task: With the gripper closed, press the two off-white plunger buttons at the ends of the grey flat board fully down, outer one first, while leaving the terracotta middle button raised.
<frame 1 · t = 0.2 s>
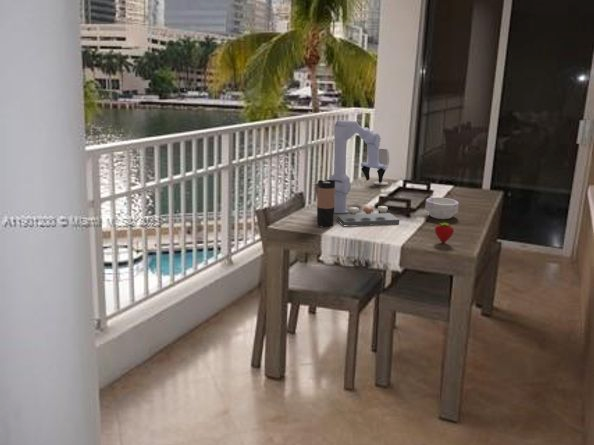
hand: (374, 181, 305), 10 cm above the table, tool pointing down, fingers open, 7 cm apart
middle button: (368, 210, 266), point 5 cm above the table, slide at 0.0 cm
paper bowls: (440, 217, 279), on the table
wineglass: (380, 184, 350), on the table
outer button: (382, 209, 268), point 5 cm above the table, slide at 0.0 cm
grey flat board: (367, 221, 268), on the table
inner button: (353, 211, 265), point 5 cm above the table, slide at 0.0 cm
travel mug: (325, 225, 260), on the table
strawberry: (443, 243, 238), on the table
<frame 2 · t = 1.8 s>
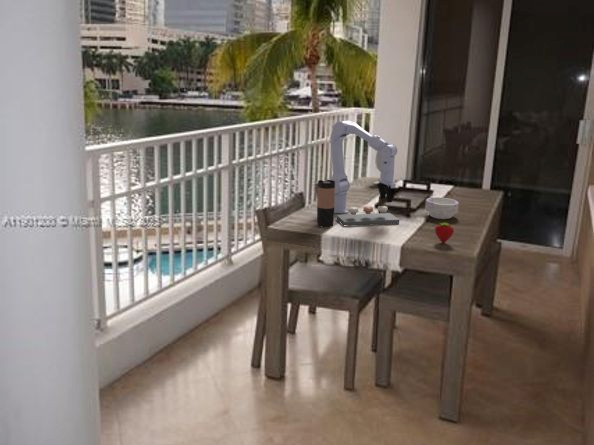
hand: (386, 200, 268), 9 cm above the table, tool pointing down, fingers open, 7 cm apart
nothing on the table moved.
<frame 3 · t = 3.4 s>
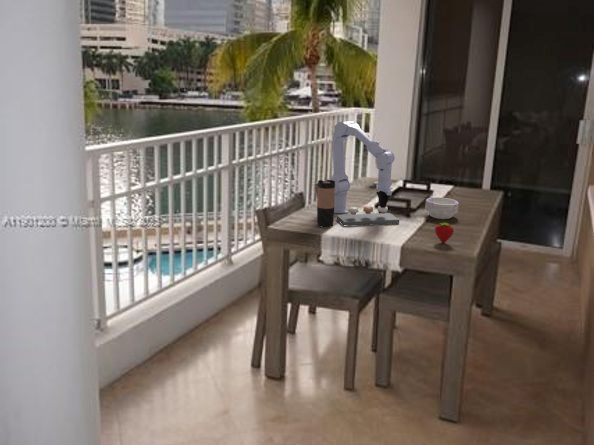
hand: (382, 207, 267), 6 cm above the table, tool pointing down, fingers closed, pressing on outer button
outer button: (382, 210, 268), point 5 cm above the table, slide at 0.1 cm, touching gripper
everything else where it was.
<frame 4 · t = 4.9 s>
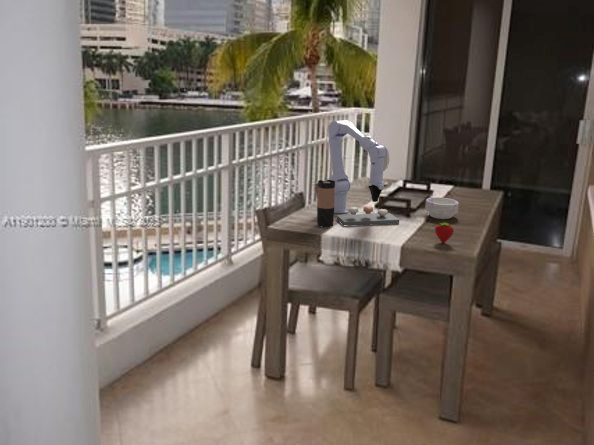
hand: (374, 201, 266), 9 cm above the table, tool pointing down, fingers closed
outer button: (382, 213, 268), point 4 cm above the table, slide at 1.6 cm
everything else where it was.
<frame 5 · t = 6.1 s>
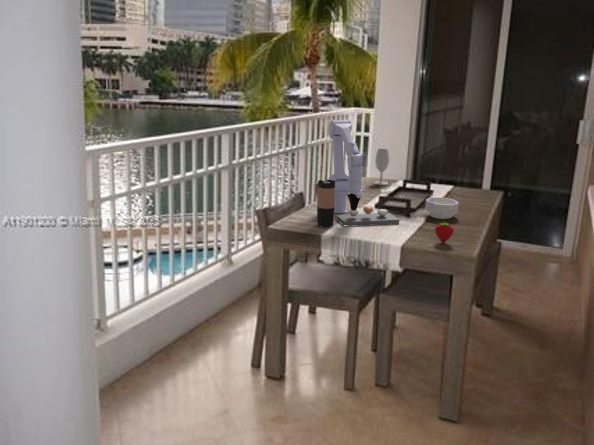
hand: (353, 210, 265), 6 cm above the table, tool pointing down, fingers closed, pressing on inner button
inner button: (353, 212, 265), point 4 cm above the table, slide at 0.8 cm, touching gripper
everything else where it was.
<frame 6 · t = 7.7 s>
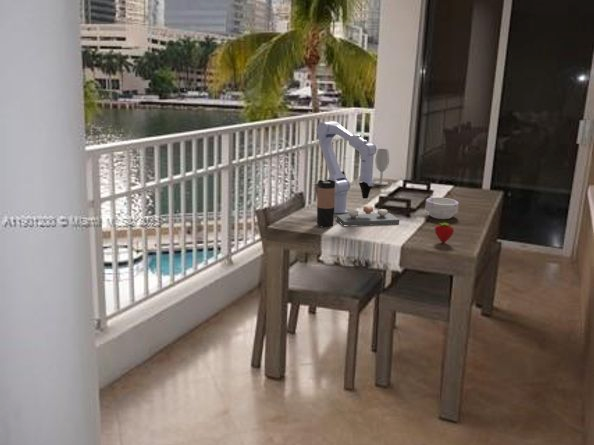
hand: (365, 198, 272), 9 cm above the table, tool pointing down, fingers closed
inner button: (353, 214, 265), point 4 cm above the table, slide at 1.6 cm
everything else where it was.
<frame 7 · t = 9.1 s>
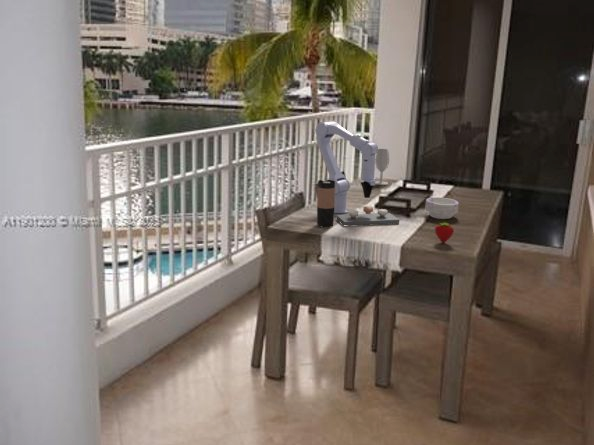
hand: (366, 197, 273), 9 cm above the table, tool pointing down, fingers closed
nothing on the table moved.
at the end: outer button slide at 1.6 cm; inner button slide at 1.6 cm; middle button slide at 0.0 cm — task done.
